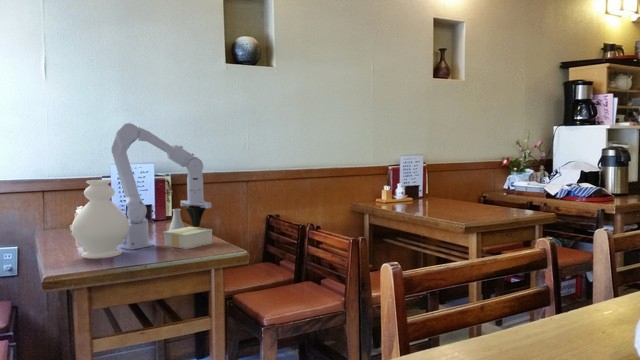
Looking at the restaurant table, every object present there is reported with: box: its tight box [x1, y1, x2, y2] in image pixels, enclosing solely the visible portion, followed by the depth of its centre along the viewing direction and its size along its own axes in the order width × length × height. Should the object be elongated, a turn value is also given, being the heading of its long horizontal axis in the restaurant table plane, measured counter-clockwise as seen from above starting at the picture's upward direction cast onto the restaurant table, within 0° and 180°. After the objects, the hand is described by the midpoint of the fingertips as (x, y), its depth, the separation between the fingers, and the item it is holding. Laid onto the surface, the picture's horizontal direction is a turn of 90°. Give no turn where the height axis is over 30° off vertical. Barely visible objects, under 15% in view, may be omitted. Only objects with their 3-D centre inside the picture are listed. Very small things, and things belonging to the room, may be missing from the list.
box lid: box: [162, 226, 213, 237], centre depth 190 cm, size 12×12×1 cm
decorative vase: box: [71, 179, 129, 260], centre depth 174 cm, size 18×18×25 cm
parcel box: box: [163, 230, 213, 250], centre depth 190 cm, size 12×12×4 cm
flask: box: [168, 208, 185, 231], centre depth 215 cm, size 7×7×10 cm
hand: (196, 226), depth 193 cm, fingers closed
